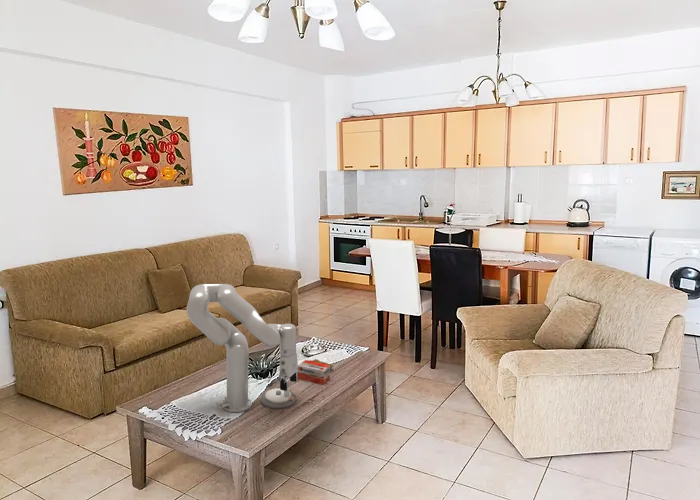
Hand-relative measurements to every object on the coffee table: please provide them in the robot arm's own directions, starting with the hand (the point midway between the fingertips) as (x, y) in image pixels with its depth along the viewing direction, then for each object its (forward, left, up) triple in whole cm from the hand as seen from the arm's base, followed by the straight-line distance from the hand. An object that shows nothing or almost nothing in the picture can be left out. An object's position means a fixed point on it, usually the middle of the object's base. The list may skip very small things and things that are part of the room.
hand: (288, 385), depth 238 cm
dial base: (-3, +4, -8) cm, 10 cm away
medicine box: (+24, +13, -9) cm, 29 cm away
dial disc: (-2, +3, -6) cm, 8 cm away
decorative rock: (+34, +22, -9) cm, 41 cm away
